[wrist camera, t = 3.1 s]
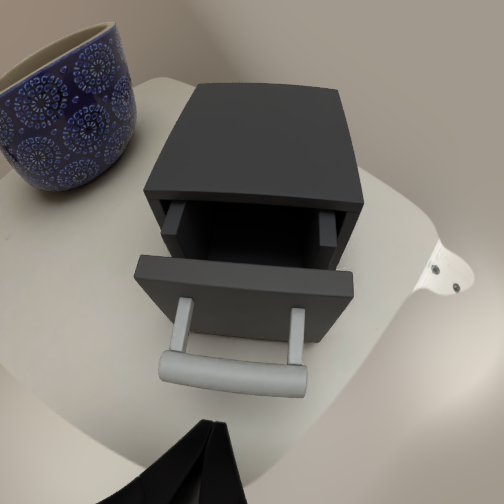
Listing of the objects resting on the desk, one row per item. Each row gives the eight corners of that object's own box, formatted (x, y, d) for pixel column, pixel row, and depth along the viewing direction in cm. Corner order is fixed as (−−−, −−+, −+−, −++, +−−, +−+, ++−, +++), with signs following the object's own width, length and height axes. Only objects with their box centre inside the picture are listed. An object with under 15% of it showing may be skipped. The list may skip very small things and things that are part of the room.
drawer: (315, 402, 16) (354, 396, 9) (167, 386, 16) (110, 365, 10) (319, 213, 23) (336, 136, 16) (205, 205, 24) (188, 129, 17)
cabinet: (326, 289, 20) (364, 203, 12) (184, 277, 21) (142, 190, 13) (321, 176, 26) (337, 89, 18) (212, 170, 27) (198, 83, 19)
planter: (107, 109, 36) (80, 26, 23) (175, 136, 30) (149, 15, 18) (21, 179, 29) (-28, 98, 16) (60, 235, 24) (-22, 118, 11)
